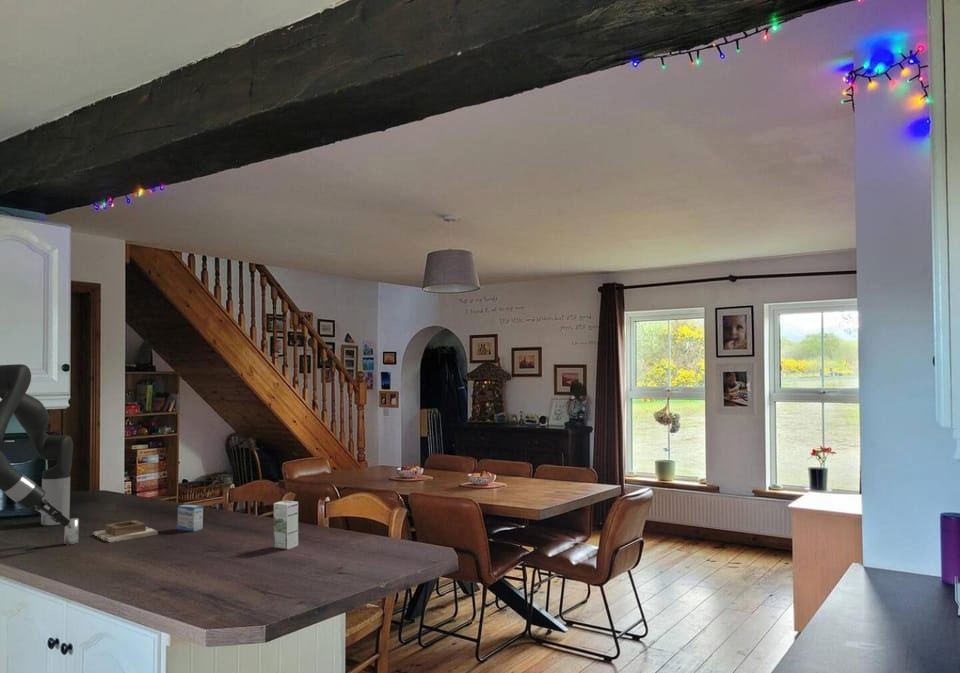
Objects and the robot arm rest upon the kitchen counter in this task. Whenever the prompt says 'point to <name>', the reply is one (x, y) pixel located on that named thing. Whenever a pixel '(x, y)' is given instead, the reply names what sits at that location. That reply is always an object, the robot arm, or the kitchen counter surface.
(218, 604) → the kitchen counter surface
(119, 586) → the kitchen counter surface
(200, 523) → the medicine box
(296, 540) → the syrup box
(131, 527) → the wooden socket base
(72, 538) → the grey cylinder
